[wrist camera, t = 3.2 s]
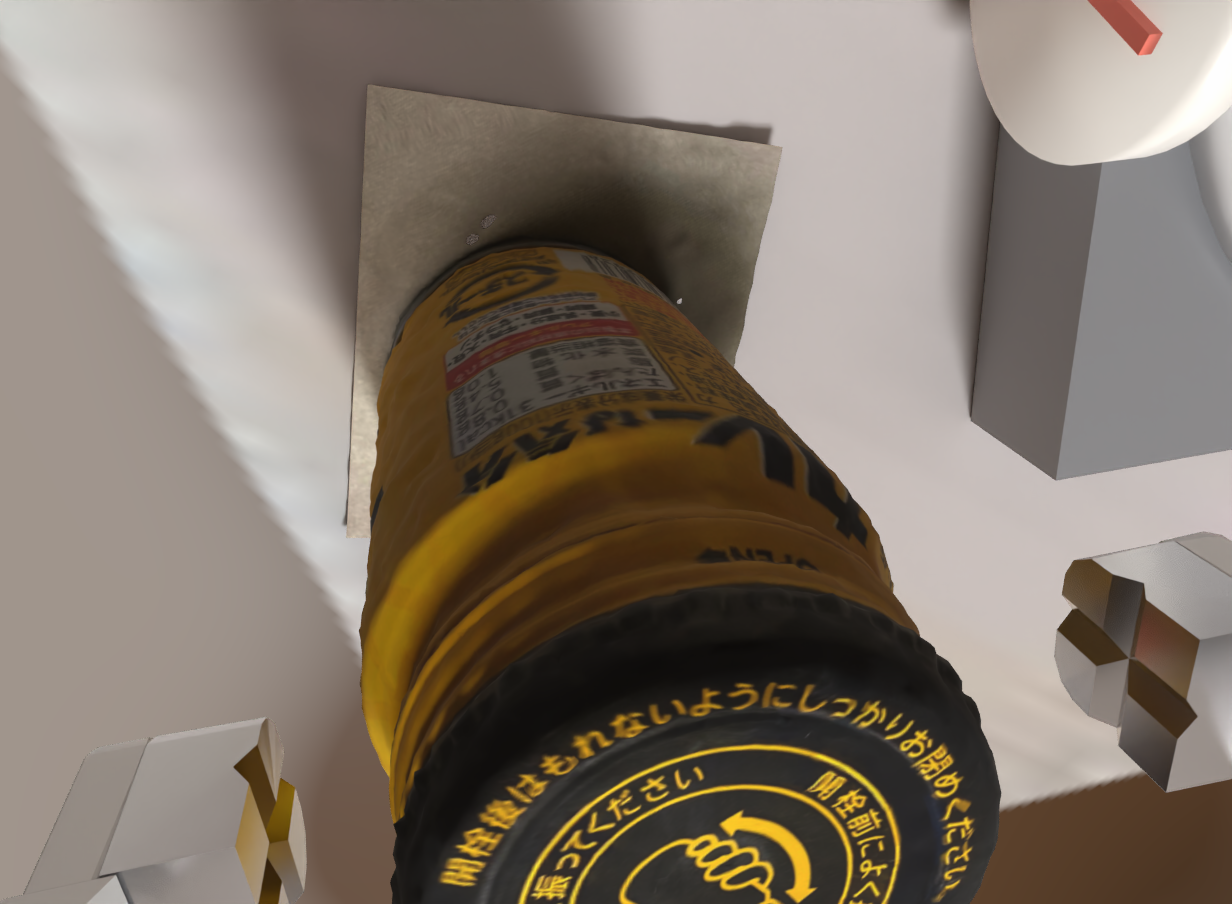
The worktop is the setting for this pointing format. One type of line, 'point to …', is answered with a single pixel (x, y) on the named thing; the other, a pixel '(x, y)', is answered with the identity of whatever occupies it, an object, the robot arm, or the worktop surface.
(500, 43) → the worktop surface
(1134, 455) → the scale
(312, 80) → the worktop surface
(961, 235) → the worktop surface
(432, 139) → the condiment
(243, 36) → the worktop surface
